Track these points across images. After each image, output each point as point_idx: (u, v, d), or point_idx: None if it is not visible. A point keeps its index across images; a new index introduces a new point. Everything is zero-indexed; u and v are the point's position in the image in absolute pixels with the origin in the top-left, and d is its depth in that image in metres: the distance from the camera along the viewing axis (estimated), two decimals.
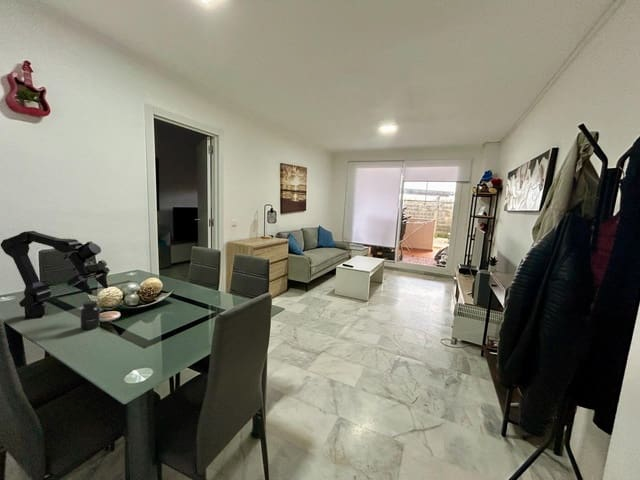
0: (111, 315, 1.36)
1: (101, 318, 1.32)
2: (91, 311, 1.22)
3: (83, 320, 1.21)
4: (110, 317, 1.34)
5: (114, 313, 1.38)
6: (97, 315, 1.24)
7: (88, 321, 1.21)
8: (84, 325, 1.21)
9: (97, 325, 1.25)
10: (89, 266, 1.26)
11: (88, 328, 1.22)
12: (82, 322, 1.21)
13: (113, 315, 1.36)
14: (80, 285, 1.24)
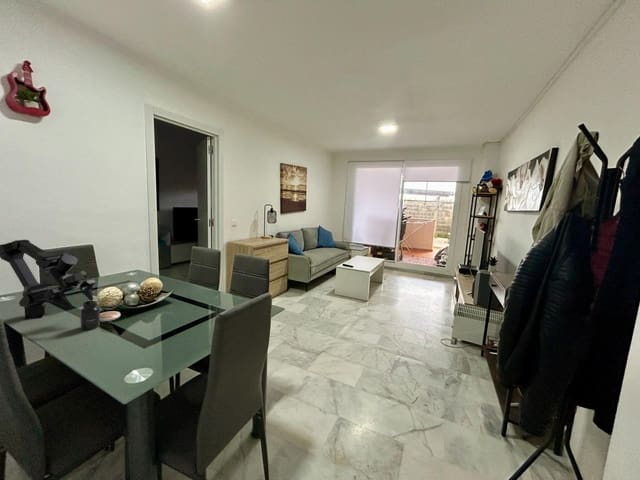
0: (111, 315, 1.36)
1: (101, 318, 1.32)
2: (91, 311, 1.22)
3: (83, 320, 1.21)
4: (110, 317, 1.34)
5: (114, 313, 1.38)
6: (97, 315, 1.24)
7: (88, 321, 1.21)
8: (84, 325, 1.21)
9: (97, 325, 1.25)
10: (66, 278, 1.21)
11: (88, 328, 1.22)
12: (82, 322, 1.21)
13: (113, 315, 1.36)
14: (59, 298, 1.19)
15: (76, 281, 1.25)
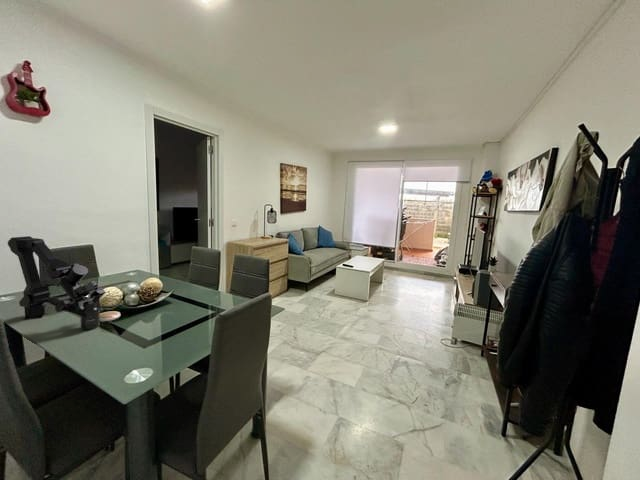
0: (111, 315, 1.36)
1: (101, 318, 1.32)
2: (90, 311, 1.22)
3: (83, 320, 1.21)
4: (110, 317, 1.34)
5: (114, 313, 1.38)
6: (97, 315, 1.24)
7: (88, 321, 1.21)
8: (84, 325, 1.21)
9: (97, 325, 1.25)
10: (77, 289, 1.21)
11: (88, 328, 1.22)
12: (82, 322, 1.21)
13: (113, 315, 1.36)
14: (73, 308, 1.20)
15: (86, 291, 1.25)
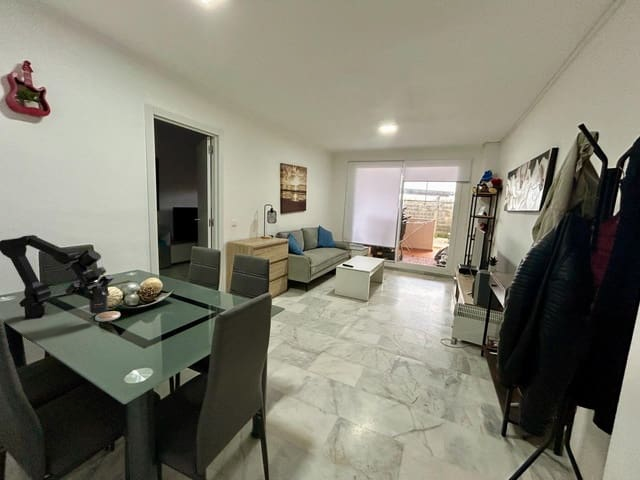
0: (111, 315, 1.36)
1: (101, 318, 1.32)
2: (99, 295, 1.26)
3: (91, 304, 1.26)
4: (110, 317, 1.34)
5: (114, 313, 1.38)
6: (105, 299, 1.29)
7: (96, 305, 1.26)
8: (92, 309, 1.26)
9: (105, 309, 1.29)
10: (86, 273, 1.26)
11: (96, 311, 1.27)
12: (91, 306, 1.26)
13: (113, 315, 1.36)
14: (82, 292, 1.25)
15: (95, 276, 1.30)
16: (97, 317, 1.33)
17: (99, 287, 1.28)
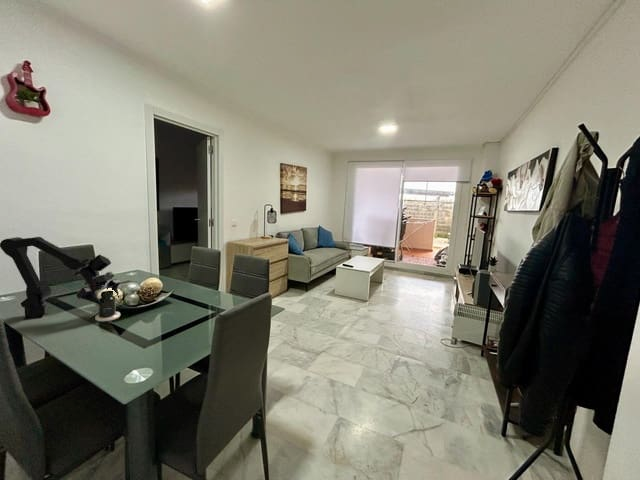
0: None
1: (101, 318, 1.32)
2: (107, 300, 1.32)
3: (101, 308, 1.32)
4: (110, 317, 1.34)
5: None
6: (113, 304, 1.35)
7: (105, 309, 1.32)
8: (101, 313, 1.32)
9: (113, 313, 1.35)
10: (96, 278, 1.32)
11: (105, 315, 1.33)
12: (100, 310, 1.32)
13: (113, 315, 1.36)
14: (89, 297, 1.29)
15: (104, 281, 1.36)
16: (97, 317, 1.33)
17: (107, 292, 1.34)
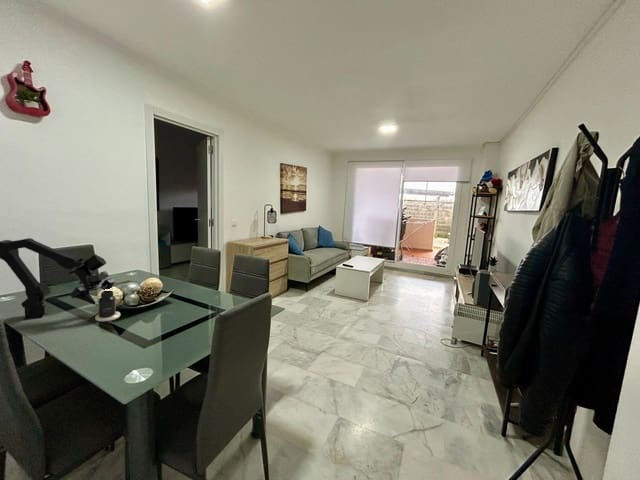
0: None
1: (101, 318, 1.32)
2: (108, 300, 1.32)
3: (101, 308, 1.32)
4: (110, 317, 1.34)
5: None
6: (113, 304, 1.35)
7: (106, 309, 1.32)
8: (101, 313, 1.32)
9: (113, 313, 1.35)
10: (90, 277, 1.32)
11: (105, 316, 1.33)
12: (100, 310, 1.32)
13: (113, 315, 1.36)
14: (83, 296, 1.30)
15: (98, 280, 1.36)
16: (97, 317, 1.33)
17: (108, 292, 1.34)
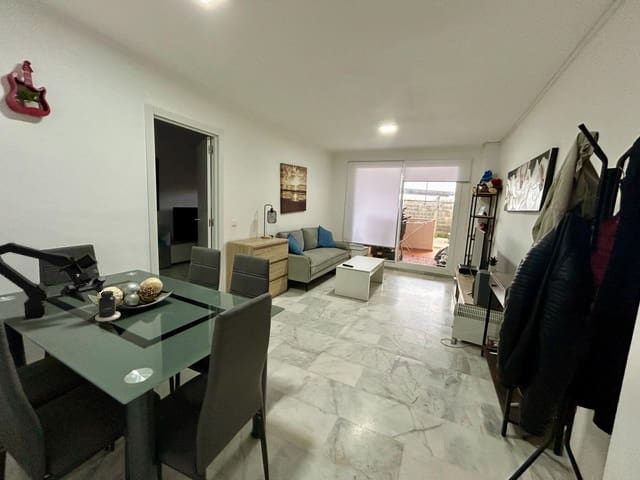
0: None
1: (101, 318, 1.32)
2: (108, 300, 1.32)
3: (101, 308, 1.32)
4: (110, 317, 1.34)
5: None
6: (113, 304, 1.35)
7: (106, 309, 1.32)
8: (101, 313, 1.32)
9: (113, 313, 1.35)
10: (80, 276, 1.33)
11: (105, 316, 1.33)
12: (100, 310, 1.32)
13: (113, 315, 1.36)
14: (74, 294, 1.31)
15: (89, 278, 1.37)
16: (97, 317, 1.33)
17: (108, 292, 1.34)
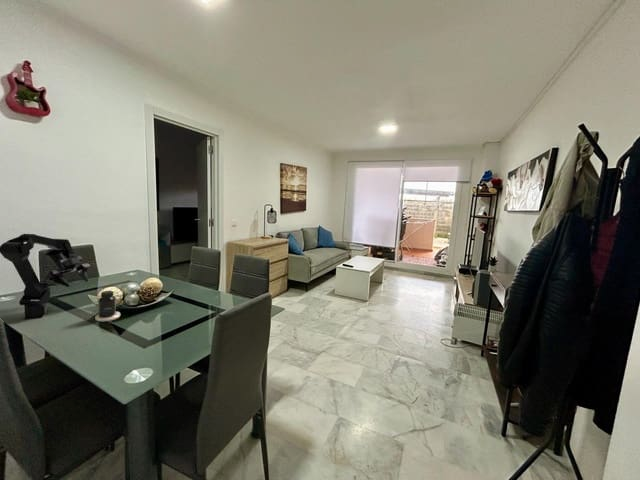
0: None
1: (101, 318, 1.32)
2: (108, 300, 1.32)
3: (101, 308, 1.32)
4: (110, 317, 1.34)
5: None
6: (113, 304, 1.35)
7: (106, 309, 1.32)
8: (101, 313, 1.32)
9: (113, 313, 1.36)
10: (64, 261, 1.39)
11: (105, 315, 1.33)
12: (100, 310, 1.32)
13: (113, 315, 1.36)
14: (58, 279, 1.36)
15: (73, 264, 1.43)
16: (97, 317, 1.33)
17: (108, 292, 1.34)
